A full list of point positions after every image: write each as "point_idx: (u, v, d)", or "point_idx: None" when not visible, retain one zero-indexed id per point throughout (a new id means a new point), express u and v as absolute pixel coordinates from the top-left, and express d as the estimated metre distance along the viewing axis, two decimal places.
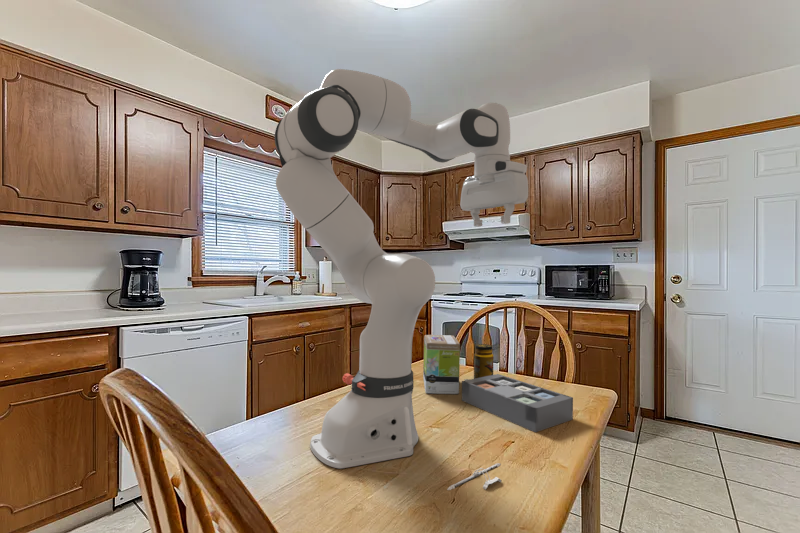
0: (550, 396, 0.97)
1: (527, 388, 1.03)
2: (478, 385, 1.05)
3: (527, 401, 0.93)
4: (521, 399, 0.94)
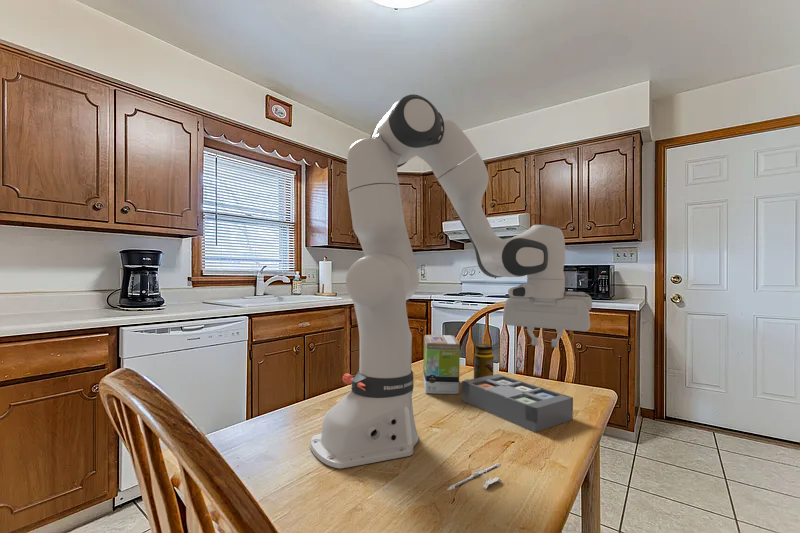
0: (550, 396, 0.97)
1: (527, 388, 1.03)
2: (478, 385, 1.05)
3: (527, 401, 0.93)
4: (521, 399, 0.94)
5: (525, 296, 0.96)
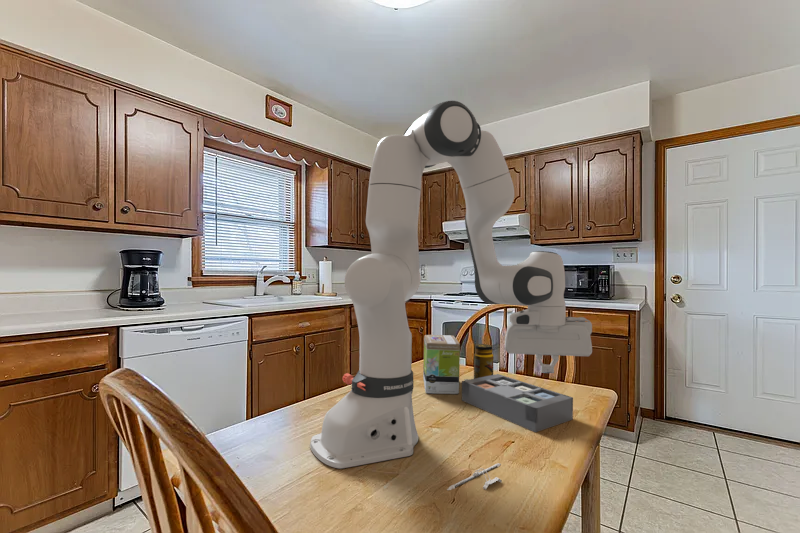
0: (550, 396, 0.97)
1: (527, 388, 1.03)
2: (478, 385, 1.05)
3: (527, 401, 0.93)
4: (521, 399, 0.94)
5: (529, 324, 0.95)
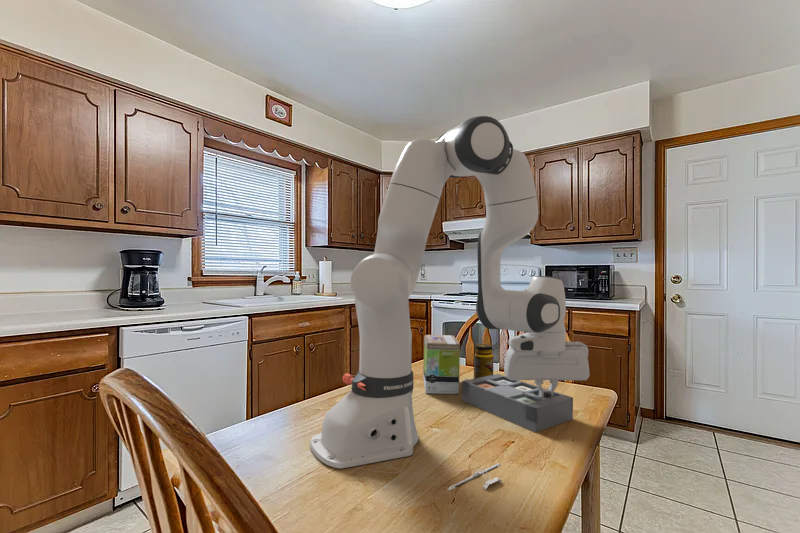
0: None
1: (527, 388, 1.03)
2: (478, 385, 1.05)
3: (527, 401, 0.93)
4: (521, 399, 0.94)
5: (533, 350, 0.94)
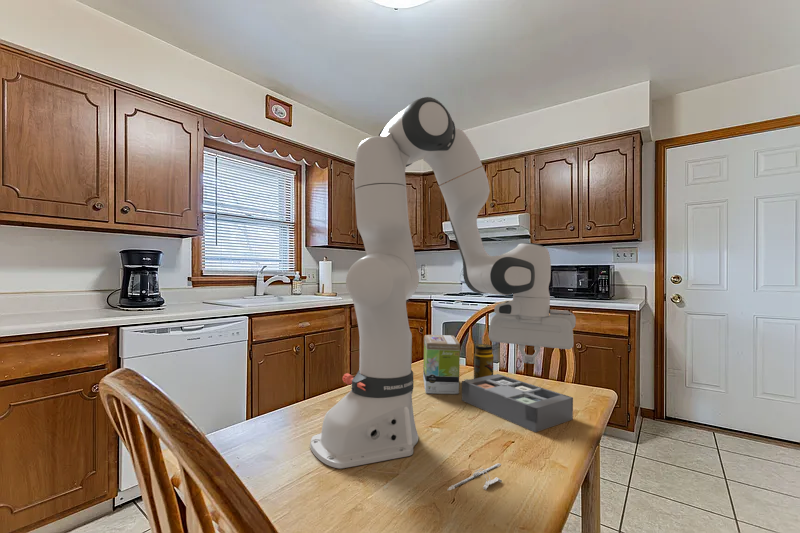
0: None
1: (527, 388, 1.03)
2: (478, 385, 1.05)
3: (527, 401, 0.93)
4: (521, 399, 0.94)
5: (511, 314, 0.97)
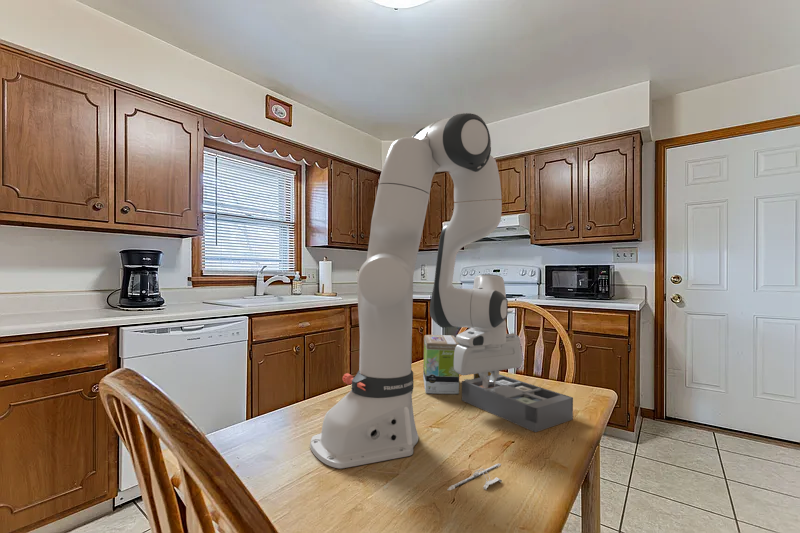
0: None
1: (527, 388, 1.03)
2: None
3: (527, 401, 0.93)
4: (521, 399, 0.94)
5: (483, 344, 0.99)
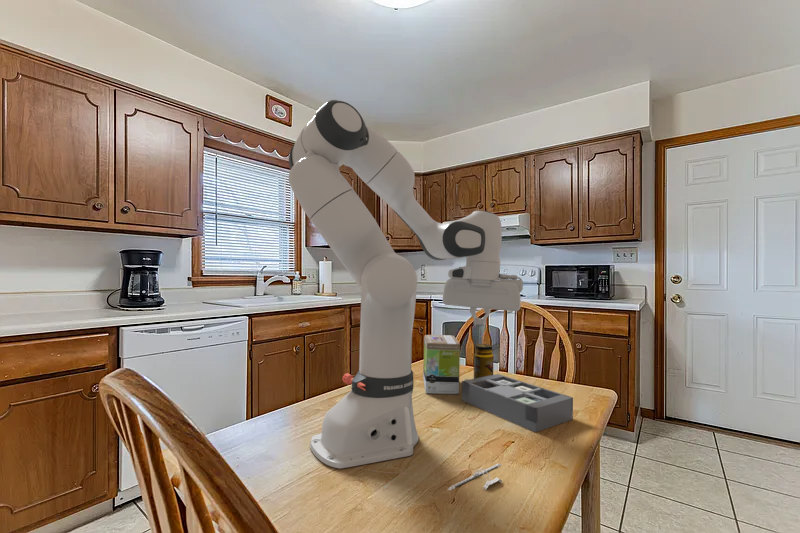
0: None
1: (527, 388, 1.03)
2: None
3: (527, 401, 0.93)
4: (521, 399, 0.94)
5: (463, 277, 1.02)
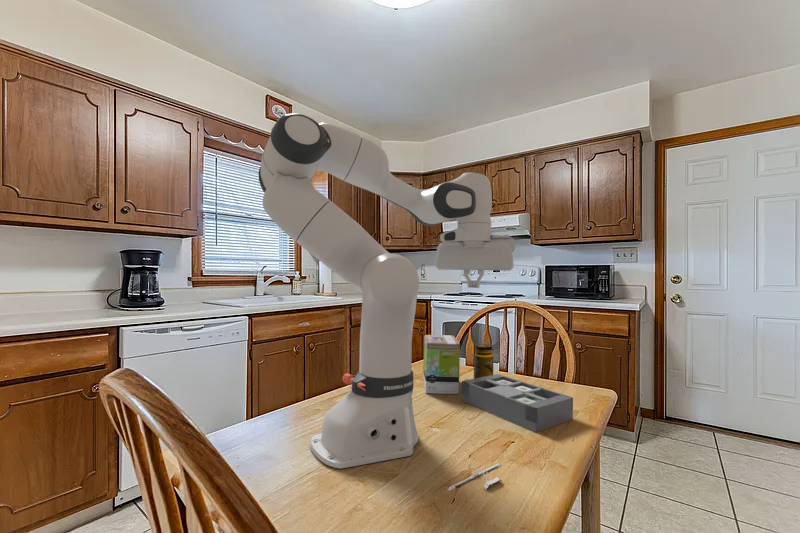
0: None
1: (527, 388, 1.03)
2: None
3: (527, 401, 0.93)
4: (521, 399, 0.94)
5: (455, 240, 1.02)
